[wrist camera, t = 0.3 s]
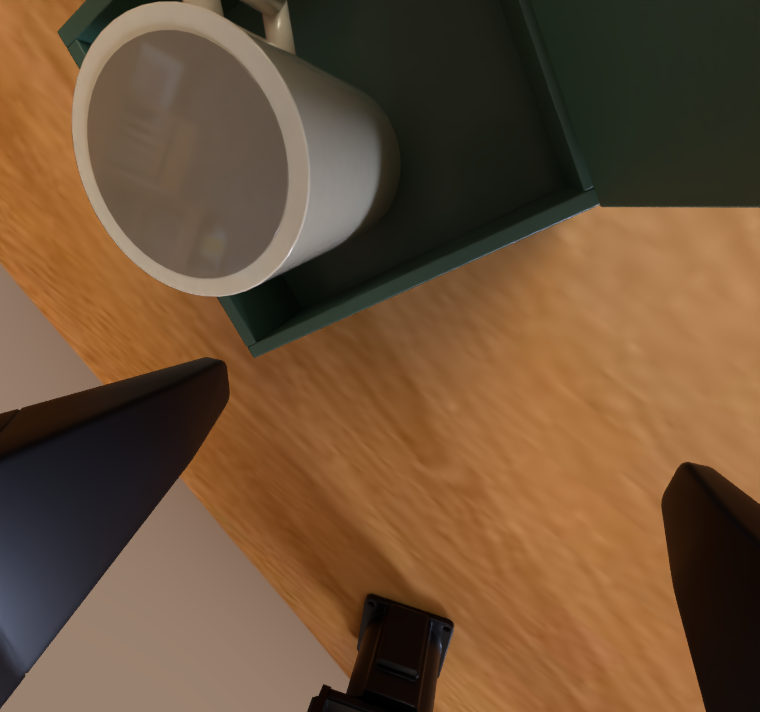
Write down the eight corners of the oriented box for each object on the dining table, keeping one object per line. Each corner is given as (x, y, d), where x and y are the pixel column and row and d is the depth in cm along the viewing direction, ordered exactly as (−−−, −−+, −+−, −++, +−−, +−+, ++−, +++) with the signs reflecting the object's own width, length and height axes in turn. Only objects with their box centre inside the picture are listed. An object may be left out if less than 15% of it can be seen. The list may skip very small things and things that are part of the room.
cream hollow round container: (408, 234, 21) (330, 290, 12) (279, 247, 23) (122, 303, 13) (384, -8, 17) (246, -209, 8) (234, 32, 19) (-18, -94, 10)
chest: (303, 319, 25) (253, 358, 20) (160, 62, 21) (56, 31, 16) (582, 191, 19) (610, 200, 14) (448, -194, 15) (421, -365, 10)
